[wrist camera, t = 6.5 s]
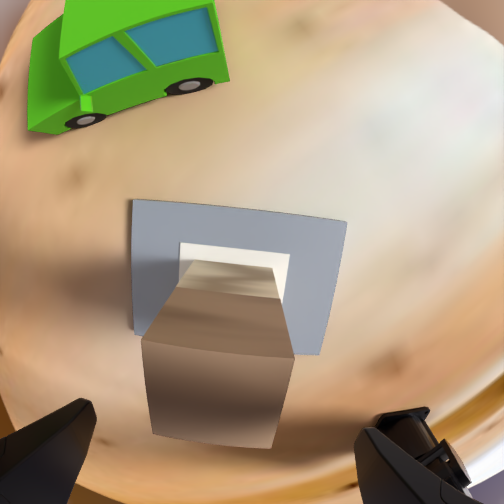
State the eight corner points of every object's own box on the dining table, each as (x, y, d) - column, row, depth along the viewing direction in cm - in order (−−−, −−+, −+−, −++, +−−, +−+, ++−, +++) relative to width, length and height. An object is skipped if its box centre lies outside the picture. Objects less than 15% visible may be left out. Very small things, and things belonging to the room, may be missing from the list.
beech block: (272, 267, 18) (279, 298, 13) (262, 335, 20) (265, 379, 15) (194, 259, 18) (175, 286, 13) (191, 327, 19) (175, 369, 15)
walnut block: (265, 379, 15) (270, 448, 10) (176, 369, 15) (152, 433, 10) (280, 298, 13) (294, 358, 9) (176, 286, 13) (140, 339, 8)
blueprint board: (344, 221, 18) (347, 222, 18) (317, 350, 21) (319, 356, 20) (136, 199, 18) (132, 199, 17) (137, 330, 20) (134, 335, 20)
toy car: (61, 47, 15) (-12, 7, 5) (212, -9, 14) (193, -97, 4) (63, 153, 17) (-36, 148, 7) (233, 100, 17) (216, 23, 7)
